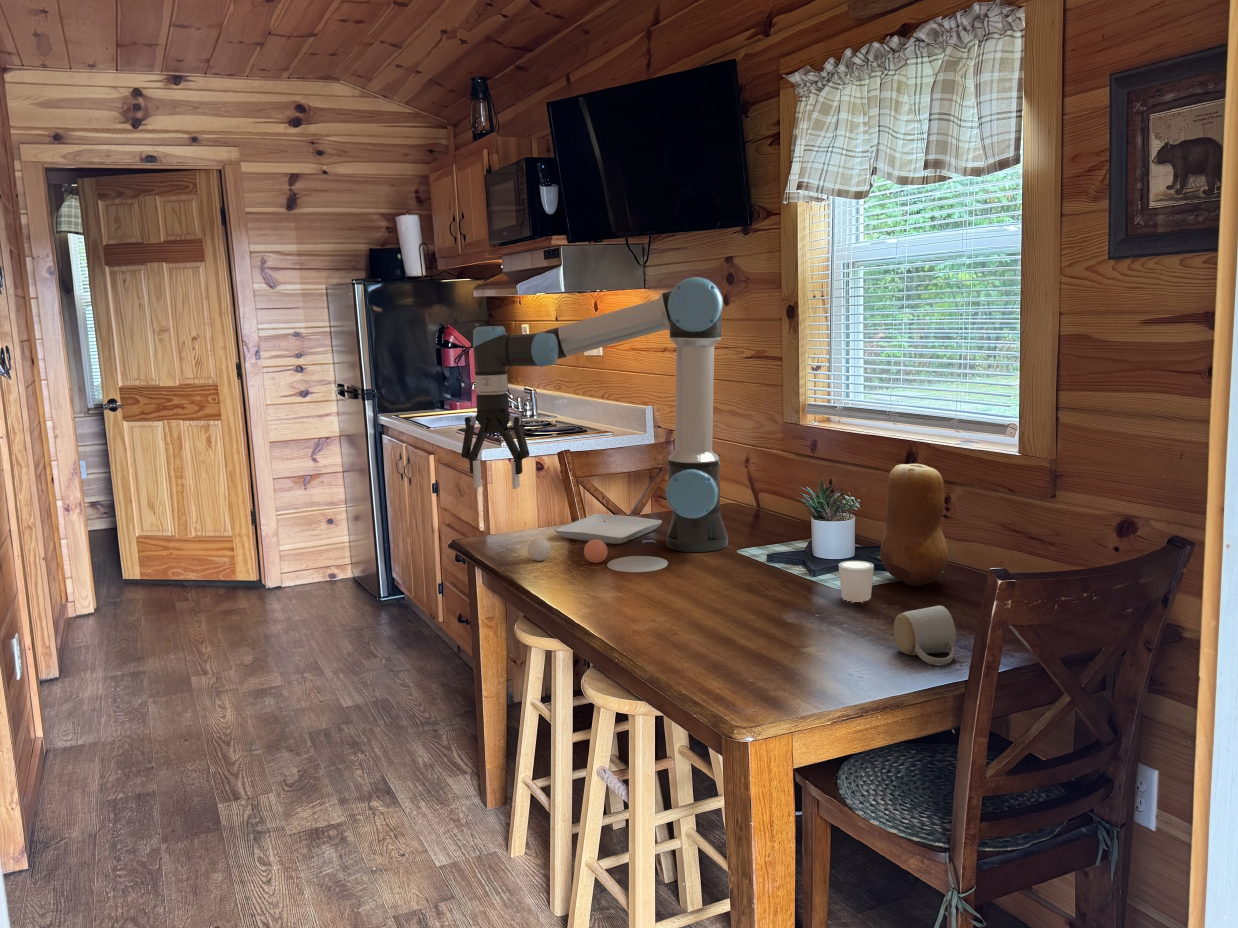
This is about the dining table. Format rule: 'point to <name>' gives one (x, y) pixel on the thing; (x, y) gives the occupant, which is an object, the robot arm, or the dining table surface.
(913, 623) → the ceramic mug
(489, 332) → the robot arm
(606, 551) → the coral ball
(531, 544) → the ivory ball
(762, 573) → the dining table surface
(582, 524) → the salad plate
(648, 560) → the oval plate
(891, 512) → the butternut squash
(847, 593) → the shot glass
